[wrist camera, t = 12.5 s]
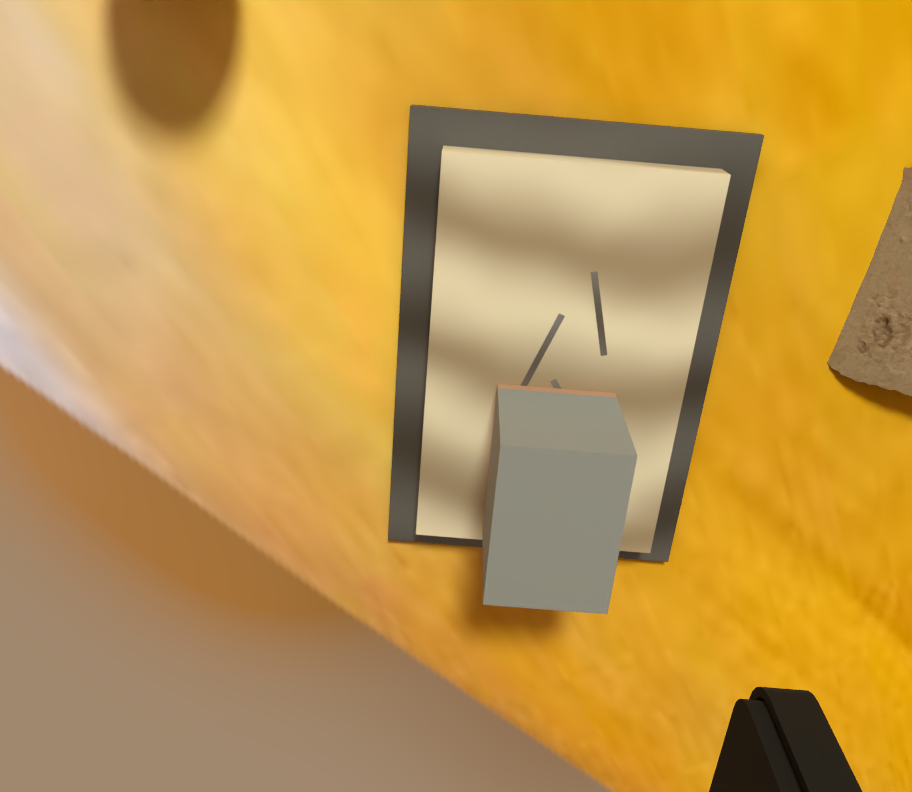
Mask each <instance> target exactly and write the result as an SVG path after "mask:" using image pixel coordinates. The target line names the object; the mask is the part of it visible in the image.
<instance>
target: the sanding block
mask: <svg viewBox="0 0 912 792" xmlns="http://www.w3.org/2000/svg"><path fill="white" fill-rule="evenodd" d="M636 461H637V453H636V450H635V447H634V444H633V442H632V439H631V436H630V433H629V430H628V427H627V425H626V422H625V419H624V416H623V413H622V411H621V408H620V405H619V402H618V399H617V397H616V394H615V393H609V392H597V391H584V390H571V389H558V388H546V387H533V386H520V385H507V384H497V393H496V403H495V412H494V422H493V432H492V441H491V451H490V460H489V470H488V480H487V489H486V499H485V508H484V518H483V527H482V531H483V605H493V606H506V607H520V608H533V609H546V610H559V611H572V612H585V613H598V614H607V613H608V608H609V603H610V597H611V592H612V587H613V582H614V576H615V571H616V566H617V561H618V555H619V550H620V545H621V540H622V534H623V529H624V524H625V519H626V514H627V508H628V503H629V498H630V493H631V487H632V482H633V477H634V472H635V466H636Z"/></svg>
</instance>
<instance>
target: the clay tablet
mask: <svg viewBox="0 0 912 792" xmlns="http://www.w3.org/2000/svg"><path fill="white" fill-rule="evenodd" d="M827 363H828V364H829V365H830V367H831V368H832V369H834V370H836V371H839V372H840V374H841V375H844V376H846V377H849V378H851V379H853V380H855V381H856V382H865V383H867V384H868V385H877V386H880V387H881V388H884V389H887V390H897V391H899V392H900V393H903V394H905V395H909V396H912V168H904V171H903V180H902V184H901V187H900V189H899V191H898V193H897V195H896V198H895V201H894V204H893V207H892V210H891V213H890V215H889V218H888V220H887V223H886V225H885V228H884V230H883V232H882V234H881V237H880V240H879V242H878V245H877V248H876V250H875V253H874V256H873V258H872V261H871V263H870V266H869V268H868V271H867V273H866V275H865V277H864V280H863V282H862V284H861V286H860V288H859V291H858V293H857V295H856V297H855V300H854V302H853V305H852V307H851V311H850V314H849V315H848V317H847V319H846V322H845V324H844V327H843V329H842V331H841V333H840V336H839V338H838V341H837V343H836V345H835V348H834V350H833V352H832V354H831V356H830V358H829V361H828V362H827Z"/></svg>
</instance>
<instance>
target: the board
mask: <svg viewBox="0 0 912 792" xmlns="http://www.w3.org/2000/svg"><path fill="white" fill-rule="evenodd" d="M763 138H764V135H762V134H754V133H742V132H731V131H719V130H707V129H695V128H683V127H671V126H659V125H647V124H636V123H624V122H612V121H600V120H588V119H576V118H564V117H553V116H541V115H529V114H517V113H505V112H493V111H481V110H469V109H458V108H446V107H434V106H422V105H411V106H410V124H409V144H408V163H407V183H406V202H405V222H404V241H403V261H402V280H401V300H400V319H399V339H398V358H397V378H396V398H395V417H394V437H393V456H392V476H391V495H390V515H389V534H388V540H400V541H412V542H425V543H437V544H450V545H462V546H475V547H483V531H482V527H483V518H484V508H485V499H486V489H487V480H488V470H489V460H490V451H491V441H492V432H493V422H494V412H495V403H496V393H497V384H507V385H520V386H533V387H546V388H558V389H571V390H584V391H597V392H609V393H615V394H616V397H617V399H618V402H619V405H620V408H621V411H622V413H623V416H624V419H625V422H626V425H627V427H628V430H629V433H630V436H631V439H632V442H633V444H634V447H635V450H636V453H637V461H636V466H635V472H634V477H633V482H632V487H631V493H630V498H629V503H628V508H627V514H626V519H625V524H624V529H623V534H622V540H621V545H620V550H619V555H618V558H625V559H637V560H650V561H662V562H668V559H669V555H670V550H671V546H672V541H673V537H674V533H675V528H676V524H677V519H678V515H679V510H680V506H681V502H682V497H683V493H684V488H685V484H686V479H687V475H688V471H689V466H690V462H691V457H692V453H693V448H694V444H695V440H696V435H697V431H698V426H699V422H700V417H701V413H702V408H703V404H704V400H705V395H706V391H707V386H708V382H709V377H710V373H711V369H712V364H713V360H714V355H715V351H716V346H717V342H718V338H719V333H720V329H721V324H722V320H723V315H724V311H725V307H726V302H727V298H728V293H729V289H730V284H731V280H732V275H733V271H734V267H735V262H736V258H737V253H738V249H739V244H740V240H741V236H742V231H743V227H744V222H745V218H746V213H747V209H748V205H749V200H750V196H751V191H752V187H753V182H754V178H755V173H756V169H757V165H758V160H759V156H760V151H761V147H762V142H763Z"/></svg>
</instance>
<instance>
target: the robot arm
mask: <svg viewBox="0 0 912 792" xmlns="http://www.w3.org/2000/svg"><path fill="white" fill-rule="evenodd" d="M709 792H862V790H861V788H860V786H859V784H858V782H857V780H856V778H855V776H854V774H853V772H852V770H851V768H850V766H849V764H848V762H847V760H846V758H845V756H844V754H843V752H842V750H841V748H840V745H839V743H838V741H837V739H836V737H835V735H834V733H833V731H832V729H831V727H830V725H829V723H828V721H827V719H826V717H825V715H824V713H823V711H822V709H821V707H820V705H819V703H818V701H817V700H816V698H815V696H814V695H813V694H812V693H810V692H809V691H805V690H792V689H779V688H767V687H756V688H755V689H754V690H753V691H752V693H751V696H750V698H749V700H747V699H739V700H738V701H737V702H736V703H735V706H734V709H733V712H732V715H731V719H730V722H729V726H728V729H727V732H726V736H725V739H724V743H723V746H722V750H721V753H720V756H719V760H718V763H717V767H716V770H715V773H714V777H713V780H712V784H711V787H710V790H709Z"/></svg>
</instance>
